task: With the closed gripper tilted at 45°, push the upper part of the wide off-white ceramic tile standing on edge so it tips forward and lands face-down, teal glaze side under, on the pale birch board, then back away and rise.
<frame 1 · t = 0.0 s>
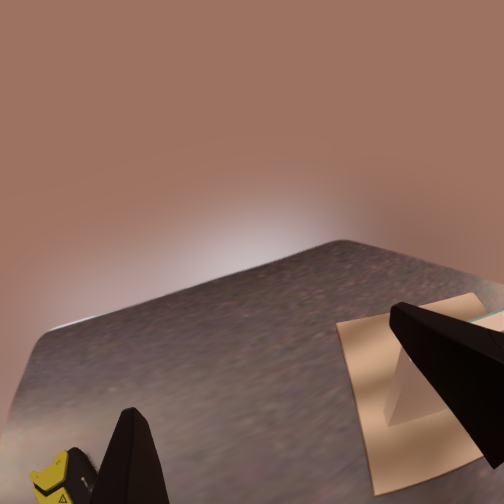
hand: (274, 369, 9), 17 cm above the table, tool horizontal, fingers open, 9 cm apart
tile: (456, 396, 19), point 1 cm above the table, touching board
board: (443, 377, 22), on the table
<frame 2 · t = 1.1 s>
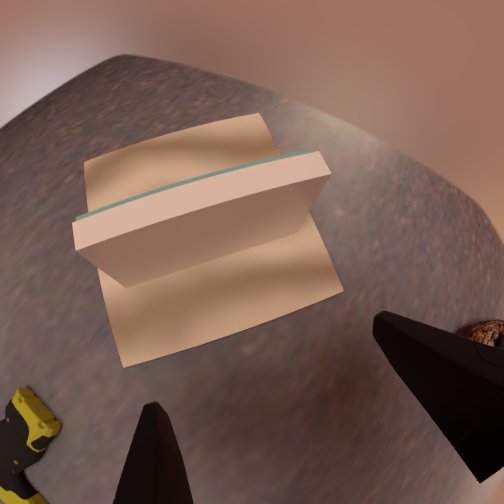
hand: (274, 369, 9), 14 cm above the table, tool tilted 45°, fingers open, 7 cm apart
tile: (208, 251, 23), point 1 cm above the table, touching board
board: (197, 221, 25), on the table
pastry: (472, 378, 23), on the table
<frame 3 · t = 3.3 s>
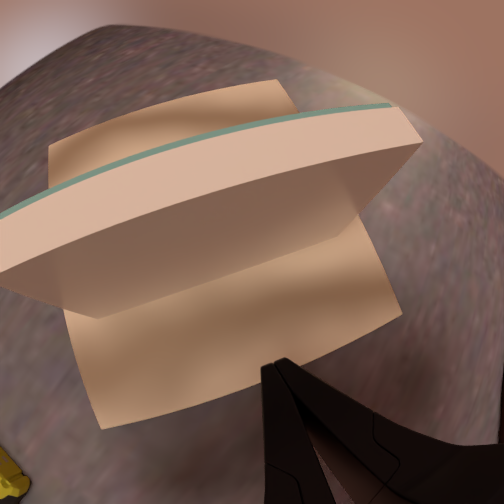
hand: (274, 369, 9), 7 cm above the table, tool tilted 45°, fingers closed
tile: (215, 263, 16), point 1 cm above the table, touching board
board: (198, 220, 17), on the table
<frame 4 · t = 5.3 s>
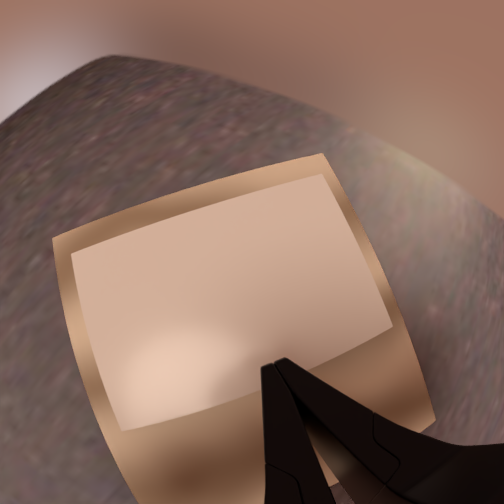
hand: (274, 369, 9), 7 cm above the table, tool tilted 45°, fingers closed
tile: (263, 385, 13), point 2 cm above the table, tilted 90°, touching board
board: (244, 349, 15), on the table
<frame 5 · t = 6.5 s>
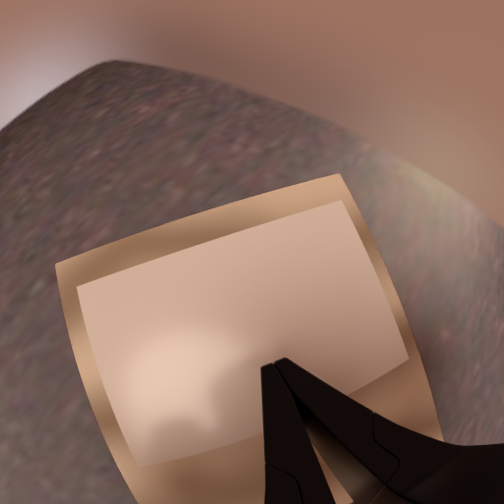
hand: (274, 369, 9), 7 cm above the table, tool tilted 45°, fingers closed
tile: (280, 420, 12), point 2 cm above the table, tilted 90°, touching board
board: (260, 381, 15), on the table
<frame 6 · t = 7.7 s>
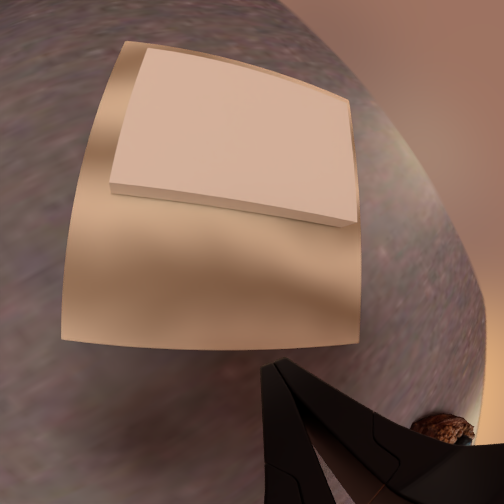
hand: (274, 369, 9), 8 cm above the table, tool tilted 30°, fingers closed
tile: (244, 206, 16), point 2 cm above the table, tilted 90°, touching board
board: (234, 184, 18), on the table
pastry: (415, 461, 22), on the table
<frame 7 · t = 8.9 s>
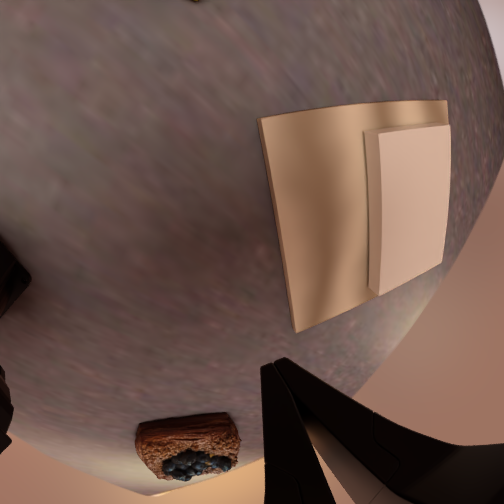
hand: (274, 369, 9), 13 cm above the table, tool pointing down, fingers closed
tile: (375, 221, 22), point 2 cm above the table, tilted 90°, touching board
board: (378, 207, 24), on the table
pastry: (185, 435, 30), on the table
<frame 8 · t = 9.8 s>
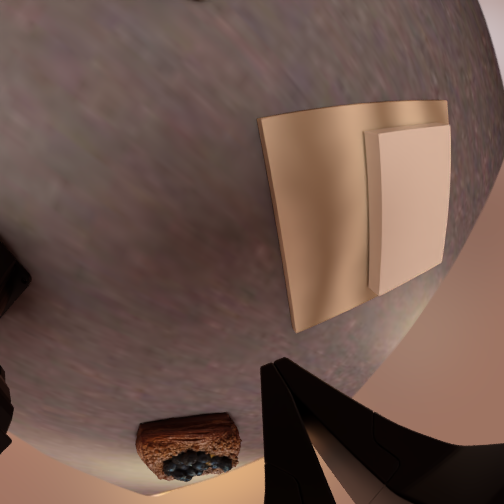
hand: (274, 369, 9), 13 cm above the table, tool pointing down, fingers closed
tile: (375, 221, 22), point 2 cm above the table, tilted 90°, touching board
board: (378, 207, 24), on the table
pastry: (185, 435, 30), on the table
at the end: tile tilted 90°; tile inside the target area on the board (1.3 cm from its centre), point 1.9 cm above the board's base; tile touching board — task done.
